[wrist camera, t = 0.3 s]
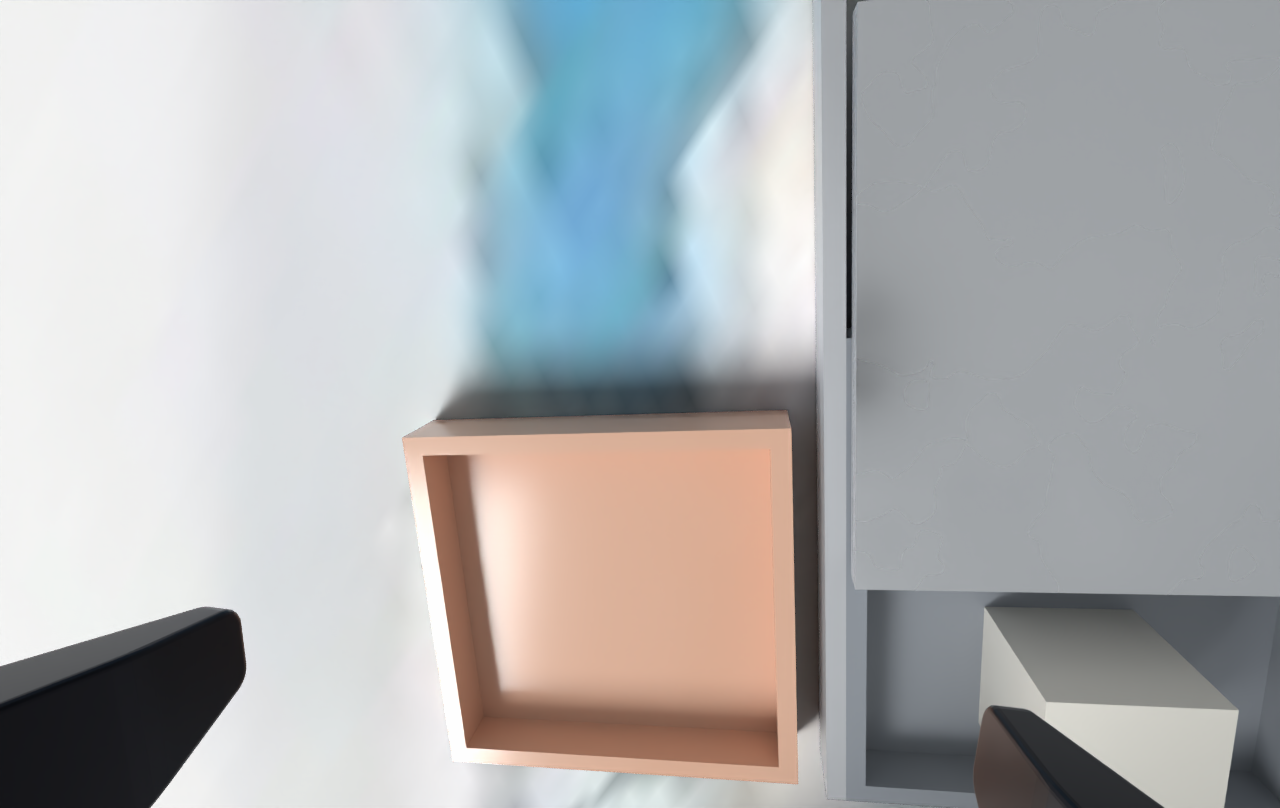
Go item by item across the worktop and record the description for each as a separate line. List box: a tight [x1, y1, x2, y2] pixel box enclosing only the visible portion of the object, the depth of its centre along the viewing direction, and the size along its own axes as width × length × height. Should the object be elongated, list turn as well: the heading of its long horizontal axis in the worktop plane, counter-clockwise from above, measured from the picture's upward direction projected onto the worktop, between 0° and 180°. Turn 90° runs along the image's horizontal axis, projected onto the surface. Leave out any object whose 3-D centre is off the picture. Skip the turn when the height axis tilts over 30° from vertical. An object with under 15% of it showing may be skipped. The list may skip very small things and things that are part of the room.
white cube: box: [978, 607, 1239, 808], centre depth 19 cm, size 4×4×4 cm
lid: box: [851, 0, 1280, 597], centre depth 14 cm, size 15×17×4 cm
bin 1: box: [402, 410, 798, 784], centre depth 22 cm, size 12×12×2 cm
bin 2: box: [813, 0, 1280, 808], centre depth 18 cm, size 30×14×2 cm, turn 4°
